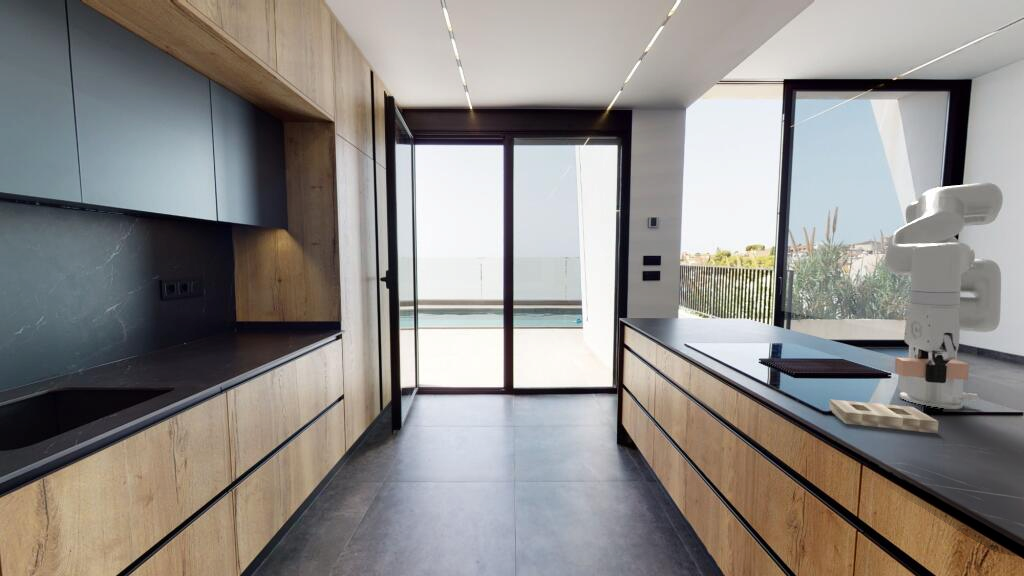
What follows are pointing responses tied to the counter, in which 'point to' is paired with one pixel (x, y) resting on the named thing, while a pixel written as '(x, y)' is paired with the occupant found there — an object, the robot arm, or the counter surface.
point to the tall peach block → (917, 368)
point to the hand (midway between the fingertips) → (929, 378)
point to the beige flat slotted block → (883, 416)
